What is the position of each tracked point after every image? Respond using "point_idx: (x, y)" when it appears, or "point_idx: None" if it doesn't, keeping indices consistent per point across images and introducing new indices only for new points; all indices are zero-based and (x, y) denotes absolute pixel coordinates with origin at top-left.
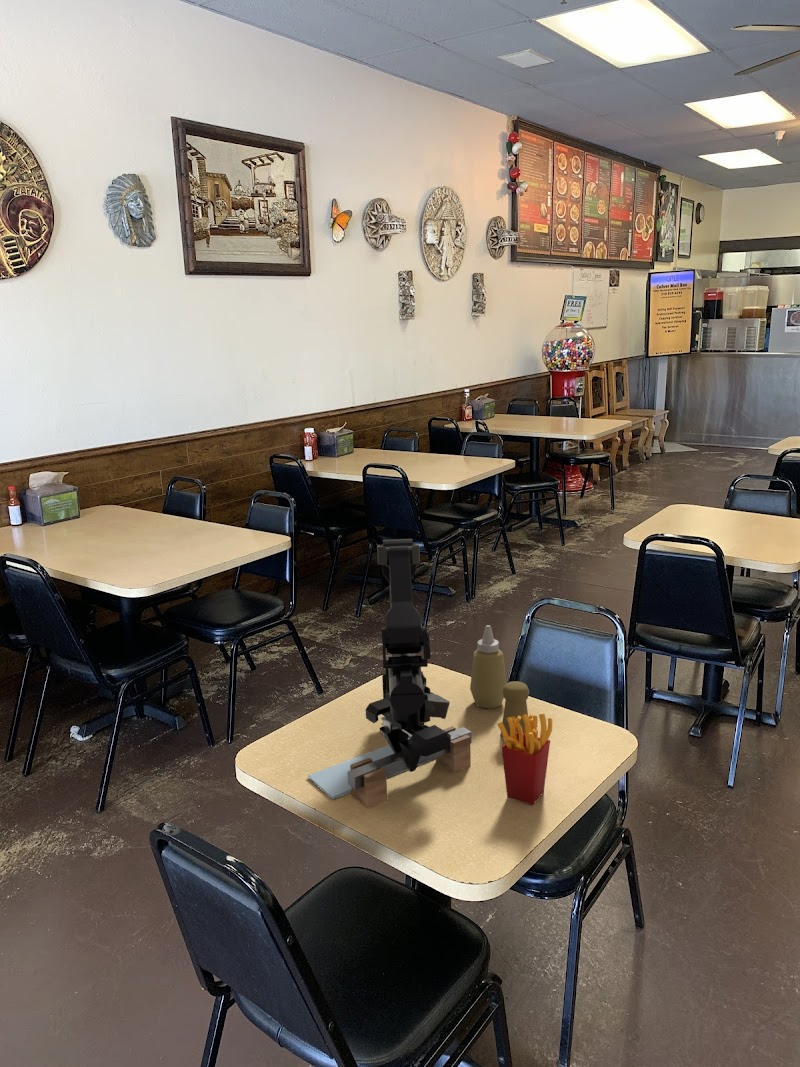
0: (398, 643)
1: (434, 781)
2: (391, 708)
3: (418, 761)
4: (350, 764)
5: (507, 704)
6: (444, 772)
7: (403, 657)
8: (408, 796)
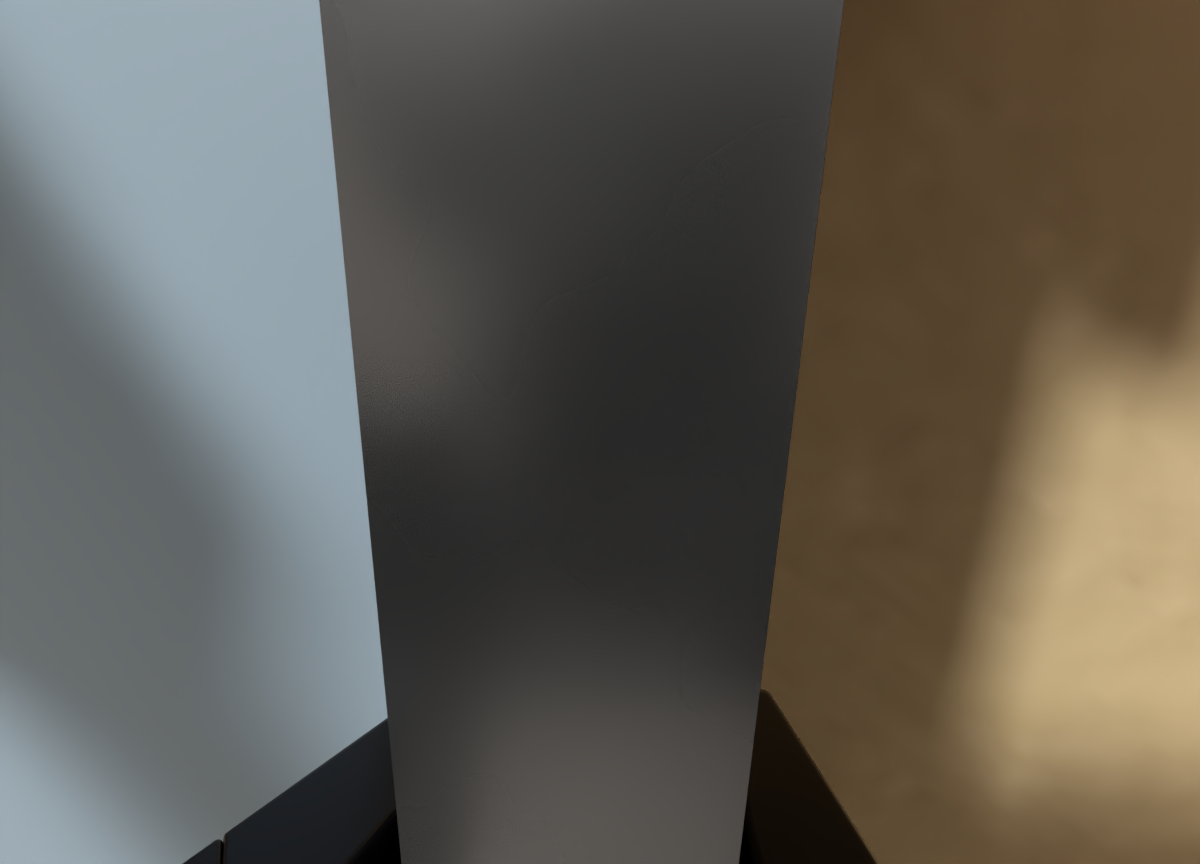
0: None
1: (888, 322)
2: None
3: (845, 813)
4: (45, 792)
5: None
6: None
7: None
8: (890, 754)
